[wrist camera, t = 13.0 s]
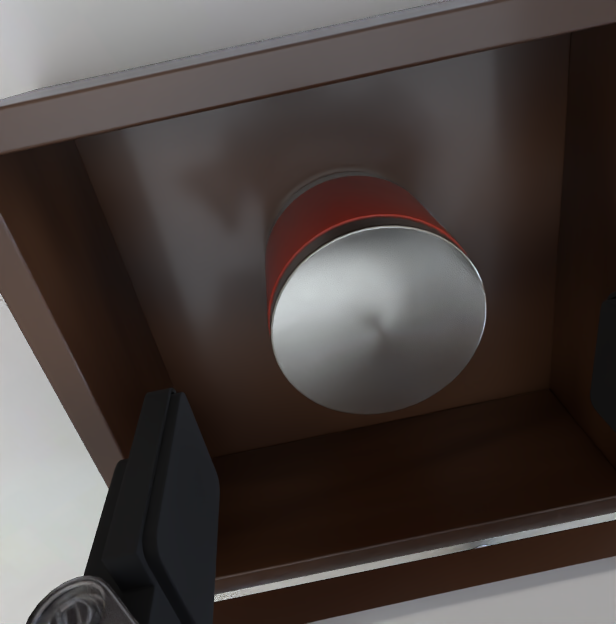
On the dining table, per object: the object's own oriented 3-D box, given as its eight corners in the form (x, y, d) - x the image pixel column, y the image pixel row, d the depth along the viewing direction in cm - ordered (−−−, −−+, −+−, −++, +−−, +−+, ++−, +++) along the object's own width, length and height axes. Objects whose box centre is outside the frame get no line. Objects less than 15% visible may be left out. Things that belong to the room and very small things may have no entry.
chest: (35, 89, 16) (-93, 126, 10) (586, -30, 16) (785, -64, 10) (191, 462, 25) (172, 604, 19) (557, 387, 24) (657, 504, 18)
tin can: (424, 152, 17) (488, 200, 13) (435, 308, 20) (490, 393, 16) (246, 190, 18) (243, 252, 13) (283, 339, 21) (293, 434, 16)
